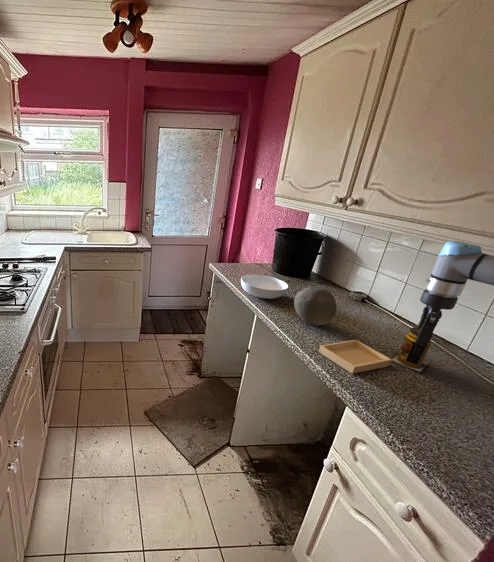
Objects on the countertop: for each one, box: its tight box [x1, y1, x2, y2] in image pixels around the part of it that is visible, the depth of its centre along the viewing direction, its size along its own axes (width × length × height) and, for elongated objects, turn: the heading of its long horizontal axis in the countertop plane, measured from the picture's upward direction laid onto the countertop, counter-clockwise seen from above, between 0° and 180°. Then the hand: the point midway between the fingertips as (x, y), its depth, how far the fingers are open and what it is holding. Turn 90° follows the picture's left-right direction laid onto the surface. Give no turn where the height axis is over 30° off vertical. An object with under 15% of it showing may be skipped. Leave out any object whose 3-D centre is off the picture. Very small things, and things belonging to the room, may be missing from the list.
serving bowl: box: [240, 274, 289, 300], centre depth 150 cm, size 21×21×7 cm
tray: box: [318, 339, 393, 374], centre depth 103 cm, size 16×12×2 cm
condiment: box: [391, 327, 434, 373], centre depth 100 cm, size 7×8×12 cm
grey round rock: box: [293, 286, 338, 326], centre depth 123 cm, size 14×14×15 cm
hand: (411, 357), depth 101 cm, fingers closed on condiment, 6 cm apart
